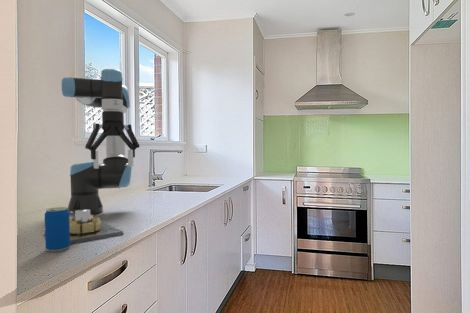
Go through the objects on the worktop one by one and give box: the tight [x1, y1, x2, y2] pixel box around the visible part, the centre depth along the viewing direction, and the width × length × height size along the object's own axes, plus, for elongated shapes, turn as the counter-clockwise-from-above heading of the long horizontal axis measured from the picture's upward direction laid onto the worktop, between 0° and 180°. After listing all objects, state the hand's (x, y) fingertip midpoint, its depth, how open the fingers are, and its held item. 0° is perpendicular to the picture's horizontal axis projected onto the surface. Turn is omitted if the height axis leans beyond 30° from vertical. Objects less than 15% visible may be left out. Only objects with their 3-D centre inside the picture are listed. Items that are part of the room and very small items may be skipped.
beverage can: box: [44, 206, 71, 253], centre depth 103 cm, size 6×6×12 cm
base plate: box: [70, 209, 124, 245], centre depth 120 cm, size 20×20×8 cm
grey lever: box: [69, 211, 102, 233], centre depth 125 cm, size 22×11×4 cm, turn 40°
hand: (114, 167), depth 133 cm, fingers open, 13 cm apart
